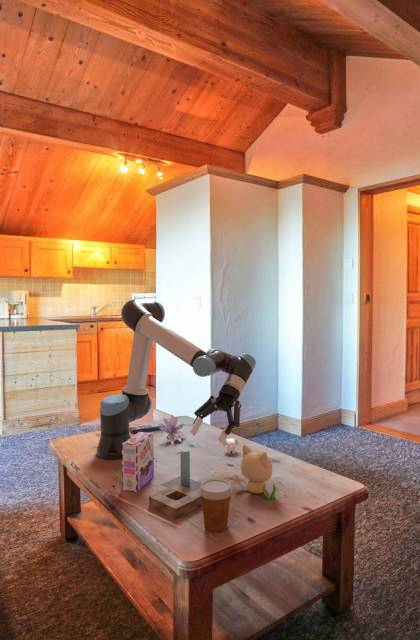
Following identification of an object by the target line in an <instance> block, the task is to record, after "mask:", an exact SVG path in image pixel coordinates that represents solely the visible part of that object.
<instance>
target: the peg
mask: <svg viewBox="0 0 420 640" xmlns="http://www.w3.org/2000/svg"><path fill="white" fill-rule="evenodd" d="M179 456H180V476H181V486H183V487H189V486H190V479H191V451H190V449H181V450H180V455H179Z"/></svg>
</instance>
